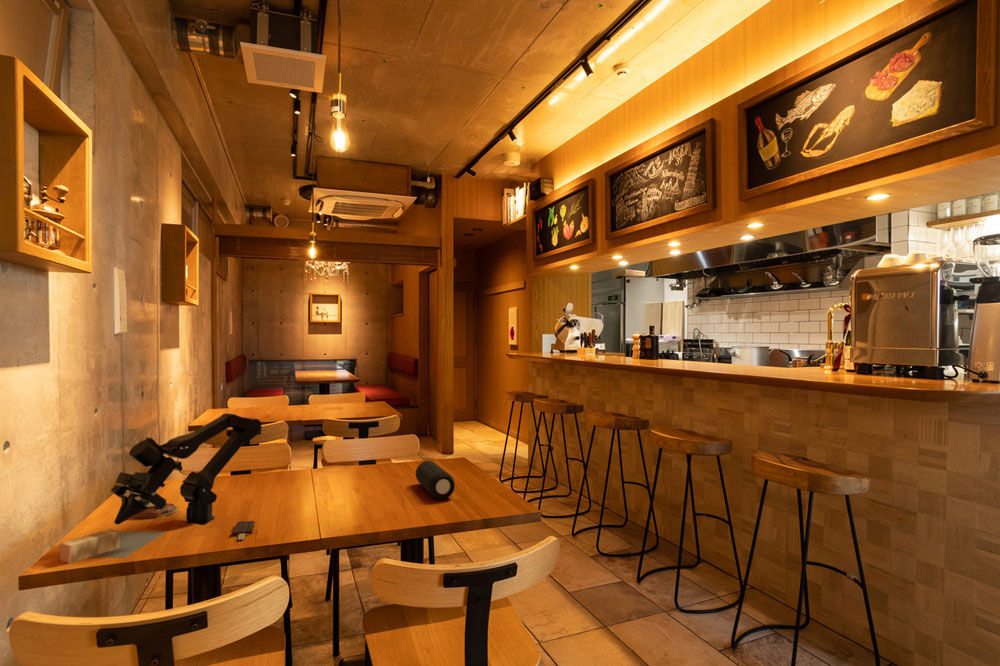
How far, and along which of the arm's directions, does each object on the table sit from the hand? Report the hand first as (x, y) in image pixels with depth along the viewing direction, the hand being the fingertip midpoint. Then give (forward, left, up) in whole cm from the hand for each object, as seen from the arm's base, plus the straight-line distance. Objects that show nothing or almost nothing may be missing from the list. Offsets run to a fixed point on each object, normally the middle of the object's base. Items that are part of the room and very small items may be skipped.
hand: (115, 523), depth 151 cm
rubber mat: (0, -2, -7) cm, 7 cm away
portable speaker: (-84, -57, -7) cm, 102 cm away
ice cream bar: (-30, -12, -7) cm, 33 cm away
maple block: (0, 0, -4) cm, 4 cm away
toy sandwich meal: (+6, -29, -7) cm, 31 cm away
